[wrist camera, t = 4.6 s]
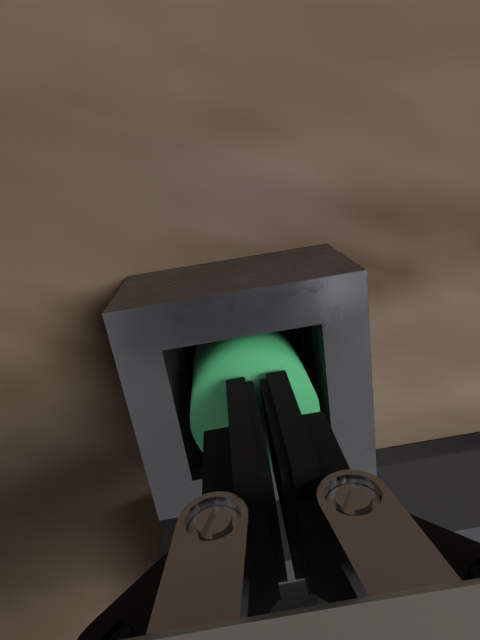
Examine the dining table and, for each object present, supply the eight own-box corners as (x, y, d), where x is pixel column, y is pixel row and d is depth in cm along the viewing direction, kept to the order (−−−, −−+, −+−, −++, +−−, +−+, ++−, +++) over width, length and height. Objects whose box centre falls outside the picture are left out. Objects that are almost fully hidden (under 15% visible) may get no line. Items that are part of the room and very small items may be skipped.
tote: (167, 485, 18) (155, 583, 14) (518, 425, 18) (611, 503, 14) (212, 658, 22) (213, 776, 18) (502, 607, 22) (572, 711, 18)
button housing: (128, 276, 15) (101, 313, 11) (327, 243, 15) (366, 270, 11) (169, 443, 17) (159, 520, 14) (340, 414, 18) (377, 483, 14)
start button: (184, 324, 15) (177, 371, 11) (290, 307, 15) (314, 348, 11) (203, 415, 16) (202, 481, 13) (300, 399, 16) (325, 460, 13)
